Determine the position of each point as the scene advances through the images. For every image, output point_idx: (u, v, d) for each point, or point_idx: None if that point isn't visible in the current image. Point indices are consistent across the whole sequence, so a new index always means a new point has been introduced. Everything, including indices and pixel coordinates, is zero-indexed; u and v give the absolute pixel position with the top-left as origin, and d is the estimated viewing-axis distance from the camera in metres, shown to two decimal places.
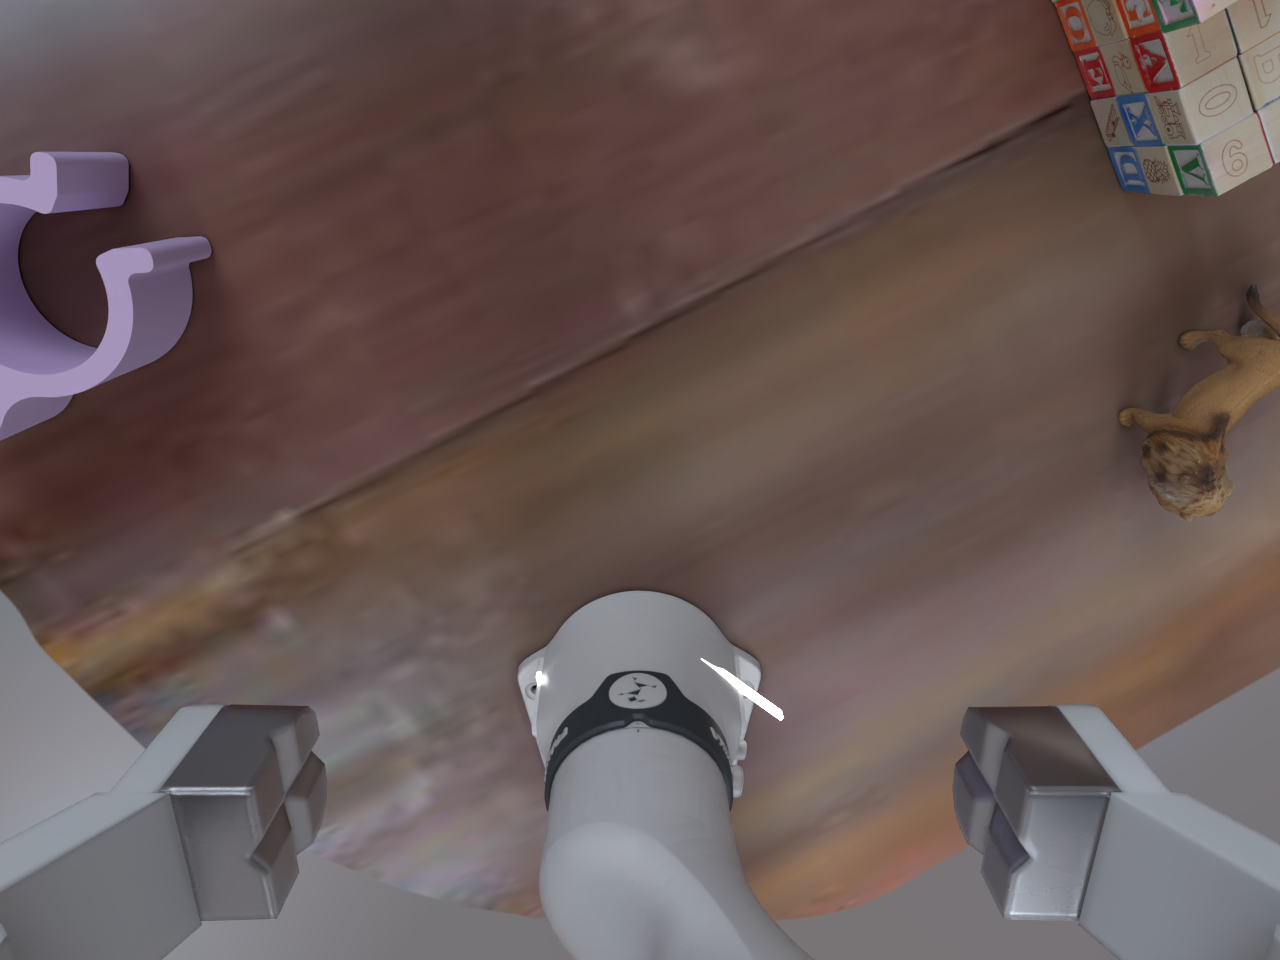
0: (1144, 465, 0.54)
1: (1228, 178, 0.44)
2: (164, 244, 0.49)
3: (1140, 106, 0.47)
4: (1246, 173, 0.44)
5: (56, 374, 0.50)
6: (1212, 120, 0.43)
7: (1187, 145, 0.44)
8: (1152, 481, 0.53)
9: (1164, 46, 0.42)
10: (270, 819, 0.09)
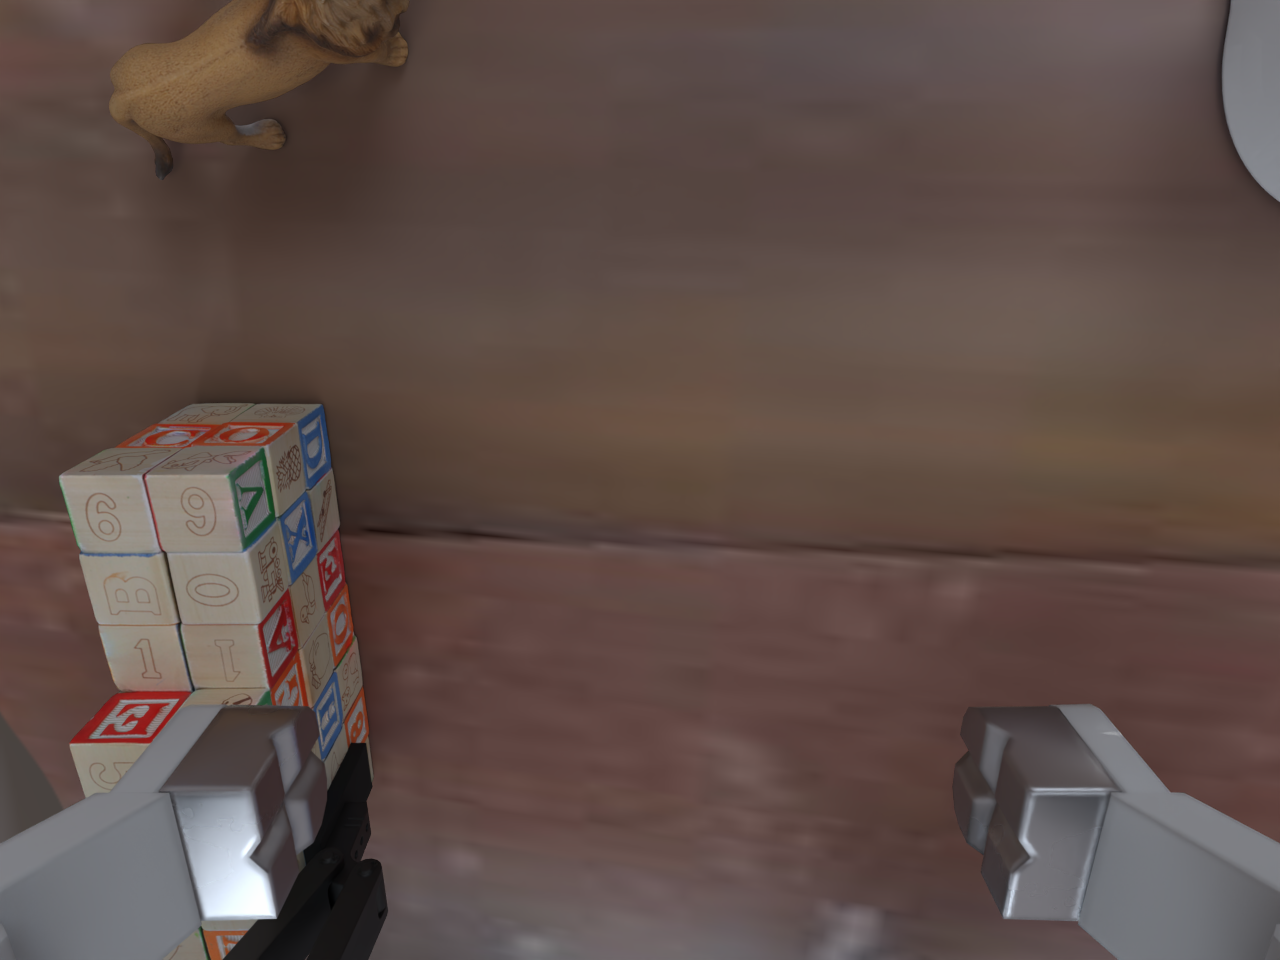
0: None
1: (210, 491, 0.30)
2: None
3: (295, 557, 0.35)
4: (184, 484, 0.30)
5: None
6: (223, 571, 0.31)
7: (257, 541, 0.31)
8: None
9: (268, 673, 0.33)
10: (270, 819, 0.09)
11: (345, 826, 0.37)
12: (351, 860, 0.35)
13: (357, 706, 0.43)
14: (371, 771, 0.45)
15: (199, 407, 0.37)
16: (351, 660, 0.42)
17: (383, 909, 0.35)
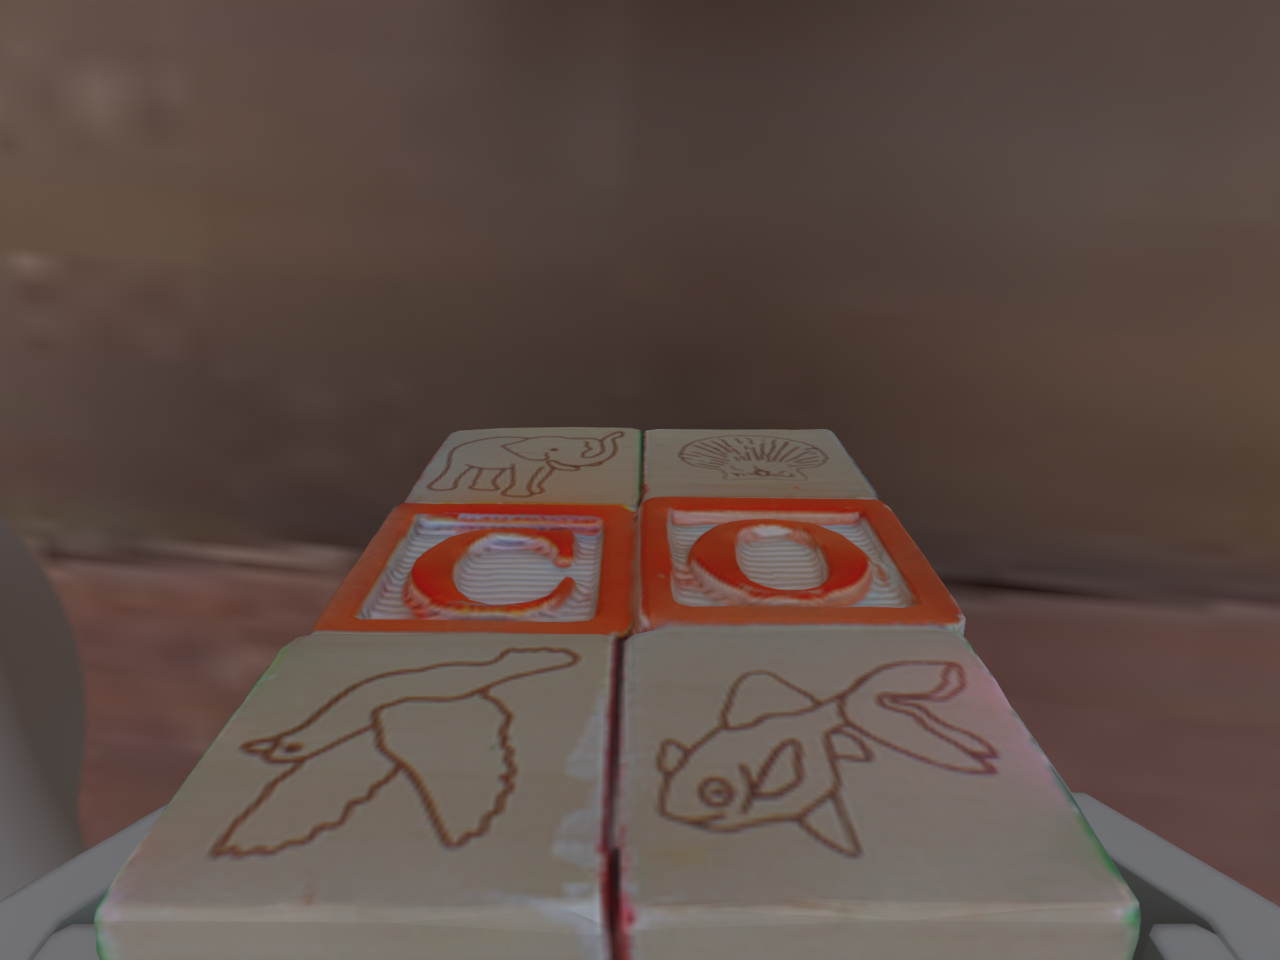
0: None
1: None
2: None
3: None
4: (855, 959, 0.05)
5: None
6: None
7: None
8: None
9: None
10: None
11: None
12: None
13: None
14: None
15: (491, 441, 0.13)
16: None
17: None
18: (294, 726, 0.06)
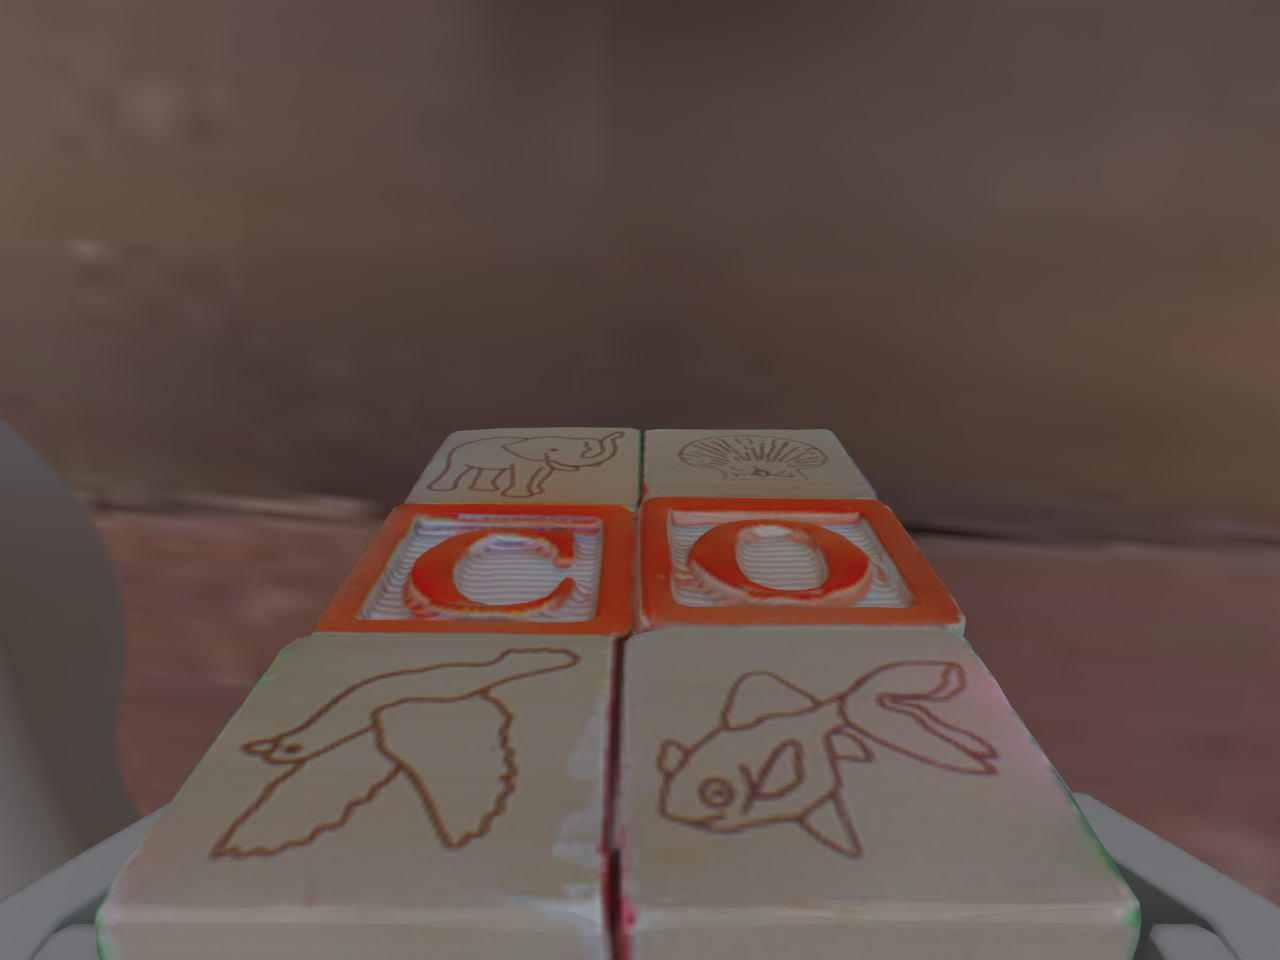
0: None
1: None
2: None
3: None
4: None
5: None
6: None
7: None
8: None
9: None
10: None
11: None
12: None
13: None
14: None
15: (491, 441, 0.13)
16: None
17: None
18: (294, 727, 0.06)
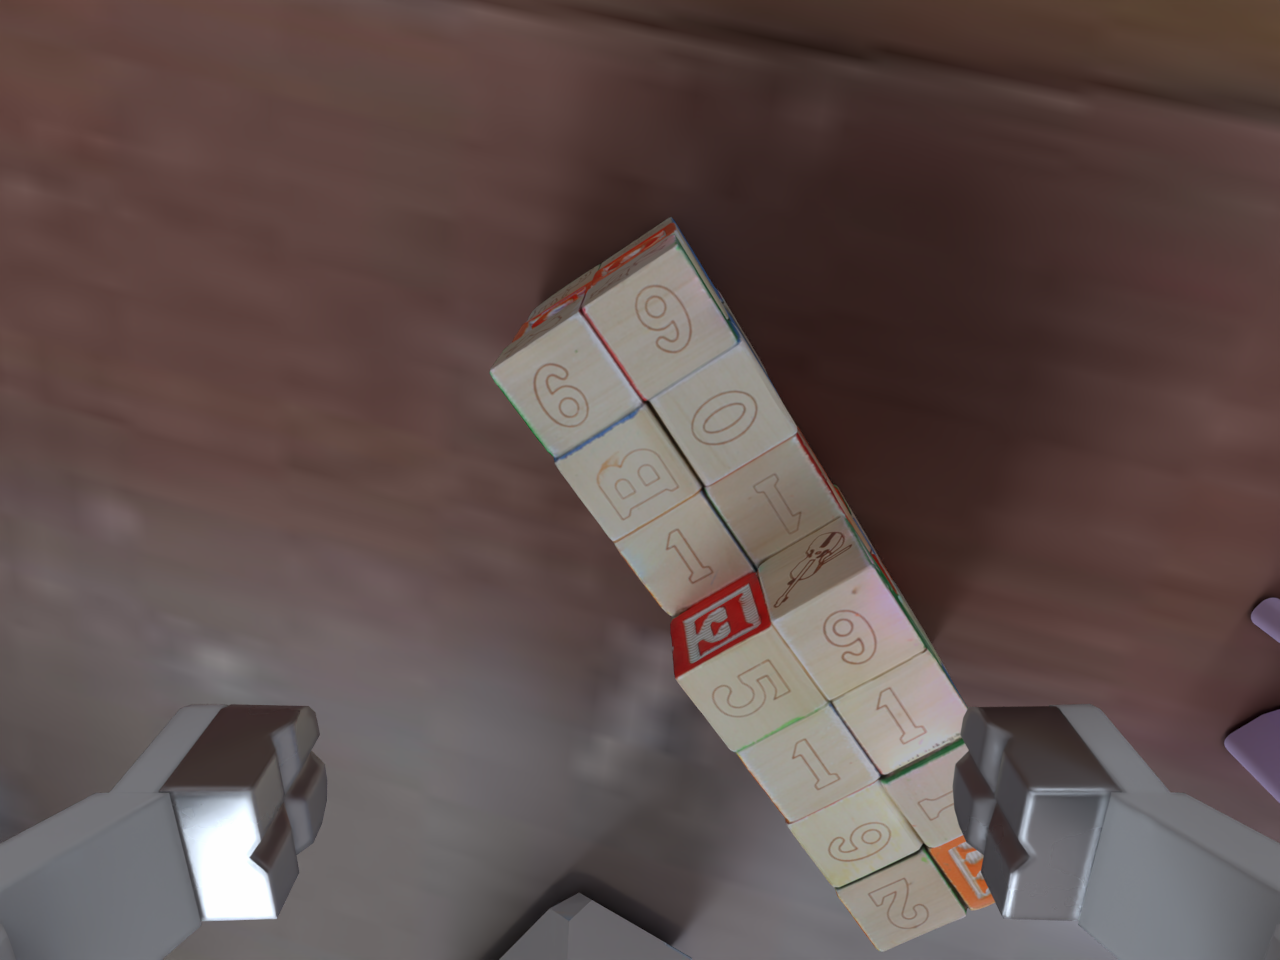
0: None
1: (666, 280, 0.22)
2: None
3: None
4: (632, 291, 0.22)
5: None
6: (726, 384, 0.23)
7: (739, 334, 0.23)
8: None
9: (834, 496, 0.24)
10: (270, 820, 0.09)
11: None
12: None
13: None
14: None
15: (547, 300, 0.30)
16: None
17: None
18: (513, 346, 0.24)
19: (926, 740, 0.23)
